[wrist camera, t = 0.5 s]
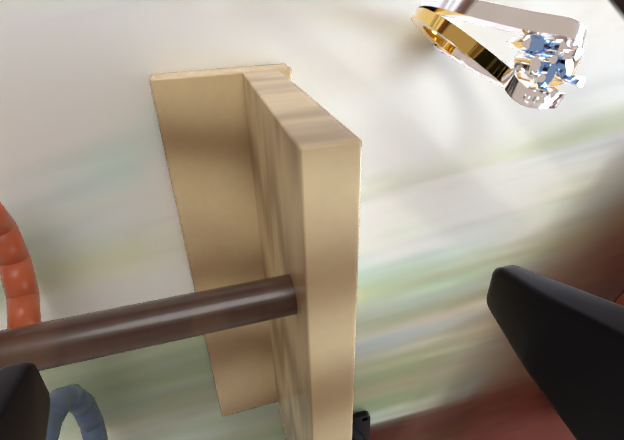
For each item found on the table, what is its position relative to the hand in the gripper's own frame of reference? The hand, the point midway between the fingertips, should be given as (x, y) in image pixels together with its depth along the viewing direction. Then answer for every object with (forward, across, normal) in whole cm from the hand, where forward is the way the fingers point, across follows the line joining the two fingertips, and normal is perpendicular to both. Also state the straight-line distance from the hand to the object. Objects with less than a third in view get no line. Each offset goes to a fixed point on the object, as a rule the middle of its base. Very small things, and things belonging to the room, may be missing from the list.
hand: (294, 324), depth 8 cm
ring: (+14, -11, -3) cm, 18 cm away
